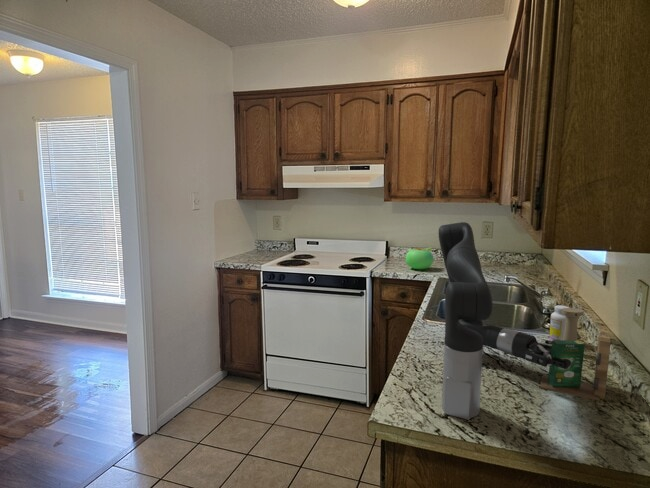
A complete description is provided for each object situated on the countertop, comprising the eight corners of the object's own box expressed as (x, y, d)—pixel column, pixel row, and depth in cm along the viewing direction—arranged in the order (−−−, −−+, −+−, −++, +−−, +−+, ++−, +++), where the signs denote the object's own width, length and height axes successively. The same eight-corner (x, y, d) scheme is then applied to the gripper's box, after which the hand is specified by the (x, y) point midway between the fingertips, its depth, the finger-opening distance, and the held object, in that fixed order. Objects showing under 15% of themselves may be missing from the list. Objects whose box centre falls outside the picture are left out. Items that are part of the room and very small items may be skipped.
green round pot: (403, 270, 269) (404, 248, 267) (407, 265, 285) (407, 244, 282) (432, 272, 263) (433, 249, 261) (434, 267, 279) (434, 245, 277)
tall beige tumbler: (555, 349, 143) (559, 307, 141) (574, 349, 143) (578, 308, 140) (562, 355, 138) (566, 312, 136) (582, 355, 138) (586, 312, 136)
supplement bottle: (566, 338, 153) (569, 305, 151) (572, 345, 147) (575, 310, 145) (546, 336, 155) (549, 303, 153) (551, 343, 148) (554, 309, 146)
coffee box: (575, 382, 119) (579, 339, 117) (581, 387, 116) (585, 343, 114) (547, 382, 119) (550, 339, 117) (552, 387, 116) (556, 343, 114)
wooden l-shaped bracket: (605, 402, 109) (611, 344, 107) (540, 388, 117) (544, 334, 114) (602, 383, 119) (607, 330, 117) (542, 371, 127) (546, 321, 124)
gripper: (505, 337, 122) (564, 355, 109) (527, 326, 131) (585, 341, 118) (504, 361, 123) (562, 381, 111) (526, 349, 132) (582, 366, 119)
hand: (574, 361), depth 114 cm, fingers open, 8 cm apart
